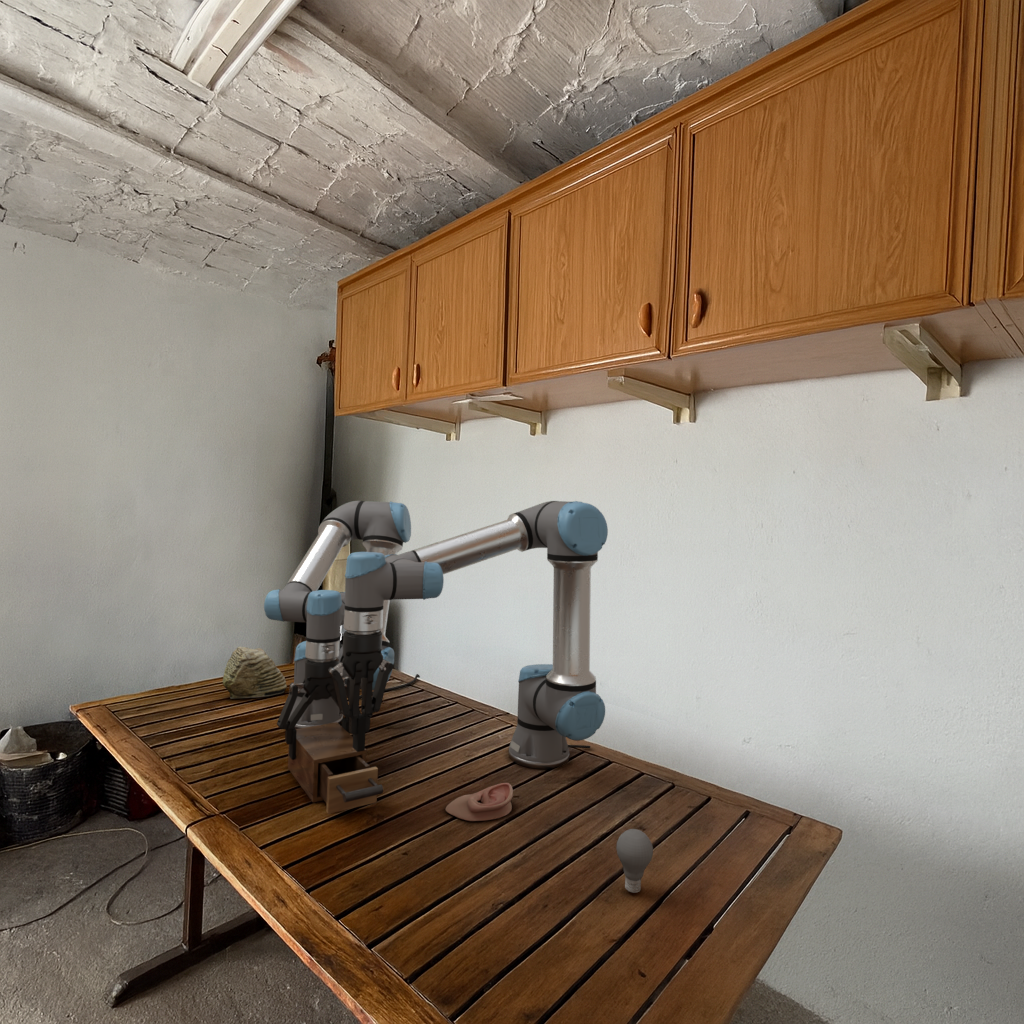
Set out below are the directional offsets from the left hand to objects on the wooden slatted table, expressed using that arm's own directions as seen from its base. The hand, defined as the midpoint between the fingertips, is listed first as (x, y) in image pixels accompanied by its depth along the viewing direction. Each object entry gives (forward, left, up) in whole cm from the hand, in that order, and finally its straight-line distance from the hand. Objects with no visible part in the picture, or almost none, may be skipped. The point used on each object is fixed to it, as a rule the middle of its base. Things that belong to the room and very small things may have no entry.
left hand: (318, 752), depth 146 cm
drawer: (+5, +16, -3) cm, 17 cm away
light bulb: (-9, +76, -4) cm, 77 cm away
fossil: (-18, -60, -4) cm, 63 cm away
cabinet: (+1, +5, -4) cm, 7 cm away
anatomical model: (-12, +39, -4) cm, 41 cm away
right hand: (+7, +23, +10) cm, 26 cm away
